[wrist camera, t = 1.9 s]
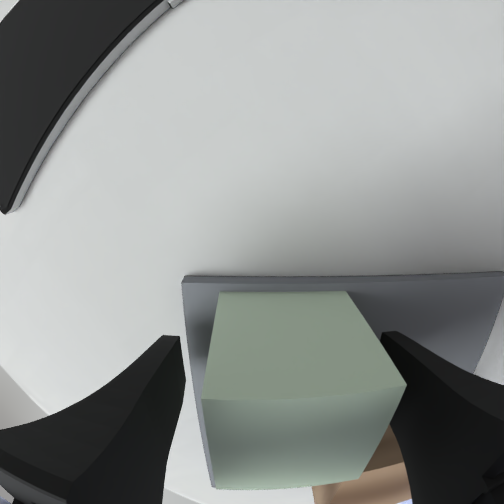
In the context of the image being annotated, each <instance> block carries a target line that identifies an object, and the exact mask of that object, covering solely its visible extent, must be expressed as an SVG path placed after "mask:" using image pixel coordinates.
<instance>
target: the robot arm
mask: <svg viewBox="0 0 504 504" xmlns="http://www.w3.org/2000/svg"><path fill="white" fill-rule="evenodd" d="M380 343H381V344H382V346H383V348H384V349H385V351H386V352H387V354H388V355H389V357H390V358H391V360H392V362H393V363H394V365H395V366H396V368H397V370H398V371H399V373H400V374H401V376H402V378H403V379H404V381H405V382H406V384H407V386H406V388H405V391H404V393H403V395H402V398H401V400H400V402H399V404H398V406H397V409H396V411H395V413H394V415H393V417H392V419H391V421H390V423H389V424H390V426H391V428H392V431H393V433H394V435H395V437H396V439H397V442H398V444H399V447H400V450H401V453H402V457H403V460H404V464H405V468H406V472H407V476H408V481H409V485H410V491H411V498H412V499H409V500H406V501H403V502H400V503H397V504H504V385H501V384H498V383H495V382H492V381H489V380H486V379H484V378H481V377H479V376H477V375H474V374H472V373H470V372H468V371H465V370H463V369H461V368H460V367H458V366H456V365H454V364H452V363H450V362H448V361H447V360H445V359H443V358H442V357H440V356H438V355H436V354H435V353H433V352H432V351H430V350H428V349H427V348H425V347H423V346H422V345H420V344H419V343H417V342H415V341H414V340H412V339H410V338H409V337H407V336H405V335H404V334H402V333H400V332H398V331H388V332H382V334H381V338H380ZM185 383H186V377H185V371H184V364H183V357H182V350H181V343H180V336H168V335H162V336H161V337H160V338H159V339H158V340H157V341H156V342H155V343H154V344H153V345H151V346H150V347H149V348H148V349H147V350H146V351H145V352H144V353H143V354H142V355H141V356H140V357H139V358H138V359H136V360H135V361H134V362H133V363H132V364H131V365H130V366H129V367H128V368H126V369H125V370H124V371H123V372H121V373H120V374H119V375H118V376H116V377H115V378H114V379H113V380H111V381H110V382H109V383H107V384H106V385H105V386H103V387H102V388H100V389H99V390H97V391H96V392H94V393H93V394H91V395H89V396H88V397H86V398H85V399H83V400H81V401H79V402H77V403H75V404H73V405H71V406H69V407H67V408H65V409H63V410H61V411H59V412H57V413H55V414H52V415H50V416H47V417H45V418H42V419H39V420H37V421H34V422H30V423H27V424H23V425H19V426H15V427H11V428H7V429H2V430H0V485H1V486H2V487H3V488H4V489H5V490H6V491H7V492H8V493H10V494H11V495H12V496H13V497H14V501H13V503H12V504H162V499H163V489H164V480H165V473H166V465H167V460H168V455H169V451H170V447H171V444H172V440H173V436H174V433H175V429H176V426H177V422H178V418H179V415H180V411H181V407H182V404H183V397H184V390H185ZM0 504H11V503H10V502H8V501H7V500H5V499H4V498H2V497H1V496H0Z"/></svg>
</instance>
